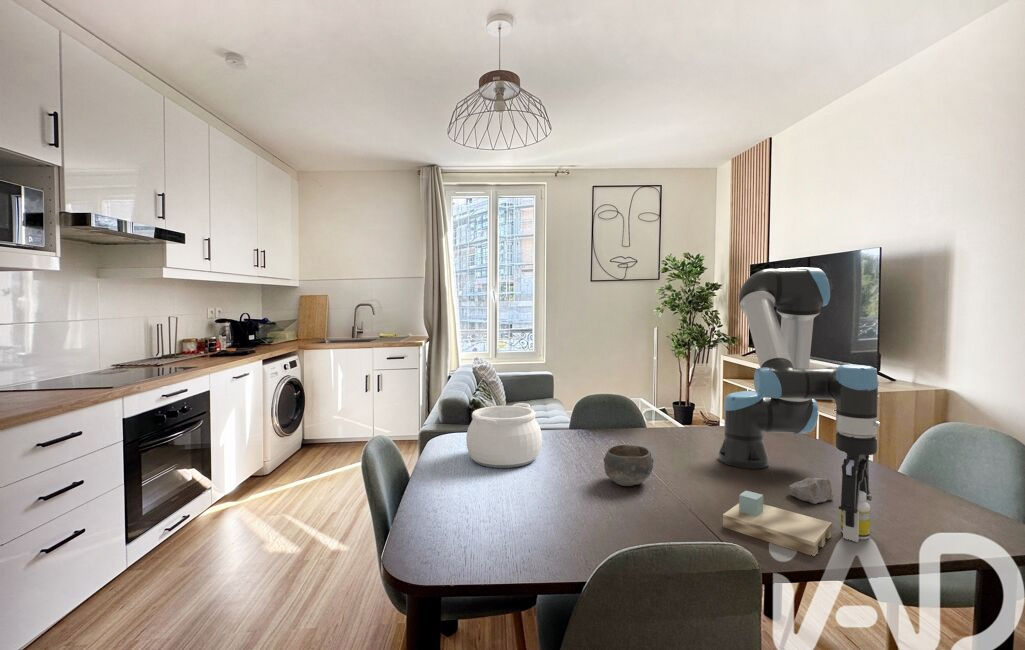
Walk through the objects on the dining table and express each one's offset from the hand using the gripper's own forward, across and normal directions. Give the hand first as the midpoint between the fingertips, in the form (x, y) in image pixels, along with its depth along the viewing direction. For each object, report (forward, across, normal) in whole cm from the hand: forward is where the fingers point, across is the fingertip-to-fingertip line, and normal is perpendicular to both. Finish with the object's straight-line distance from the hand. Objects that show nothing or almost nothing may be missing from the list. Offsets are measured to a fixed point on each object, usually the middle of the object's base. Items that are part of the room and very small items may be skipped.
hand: (855, 533), depth 108 cm
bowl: (0, -9, +54) cm, 55 cm away
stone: (+1, +16, +13) cm, 20 cm away
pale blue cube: (-3, -11, +18) cm, 22 cm away
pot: (+1, -19, +98) cm, 100 cm away
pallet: (0, -11, +13) cm, 17 cm away
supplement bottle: (0, 0, 0) cm, 0 cm away
